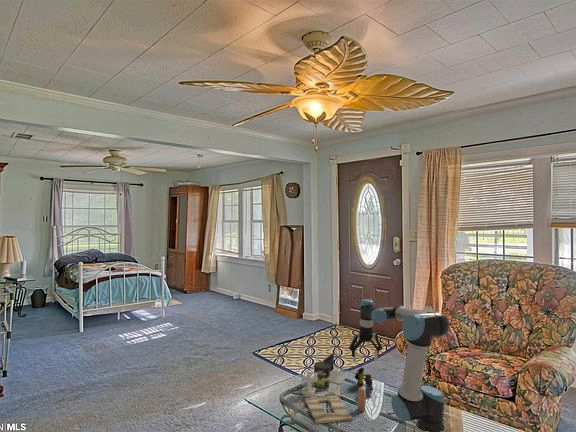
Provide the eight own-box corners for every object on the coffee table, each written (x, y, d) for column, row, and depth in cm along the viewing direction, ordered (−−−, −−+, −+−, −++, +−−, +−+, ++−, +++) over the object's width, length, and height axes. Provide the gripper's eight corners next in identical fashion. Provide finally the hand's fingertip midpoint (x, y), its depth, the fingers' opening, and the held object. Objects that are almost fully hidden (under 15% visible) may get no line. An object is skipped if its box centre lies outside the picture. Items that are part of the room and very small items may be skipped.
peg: (366, 411, 211) (366, 390, 211) (359, 412, 211) (360, 390, 210) (363, 407, 215) (364, 387, 215) (356, 408, 214) (357, 387, 214)
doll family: (381, 398, 227) (382, 376, 227) (369, 401, 223) (370, 378, 223) (360, 381, 248) (360, 361, 248) (348, 383, 245) (348, 363, 244)
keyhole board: (352, 420, 202) (352, 417, 202) (316, 423, 198) (316, 421, 198) (337, 398, 226) (337, 395, 226) (304, 400, 221) (304, 398, 221)
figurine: (303, 391, 233) (304, 367, 232) (318, 394, 229) (318, 370, 229) (299, 396, 226) (300, 371, 226) (314, 400, 222) (315, 374, 222)
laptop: (339, 385, 243) (340, 365, 243) (322, 380, 249) (322, 360, 249) (349, 374, 259) (350, 355, 258) (332, 370, 265) (333, 351, 265)
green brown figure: (328, 392, 233) (328, 369, 232) (311, 389, 236) (312, 366, 235) (331, 384, 243) (331, 362, 242) (315, 382, 246) (316, 360, 245)
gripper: (383, 323, 231) (382, 357, 232) (344, 324, 227) (343, 359, 227) (388, 327, 224) (387, 362, 224) (348, 328, 219) (347, 365, 219)
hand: (365, 361), depth 226 cm, fingers open, 13 cm apart
